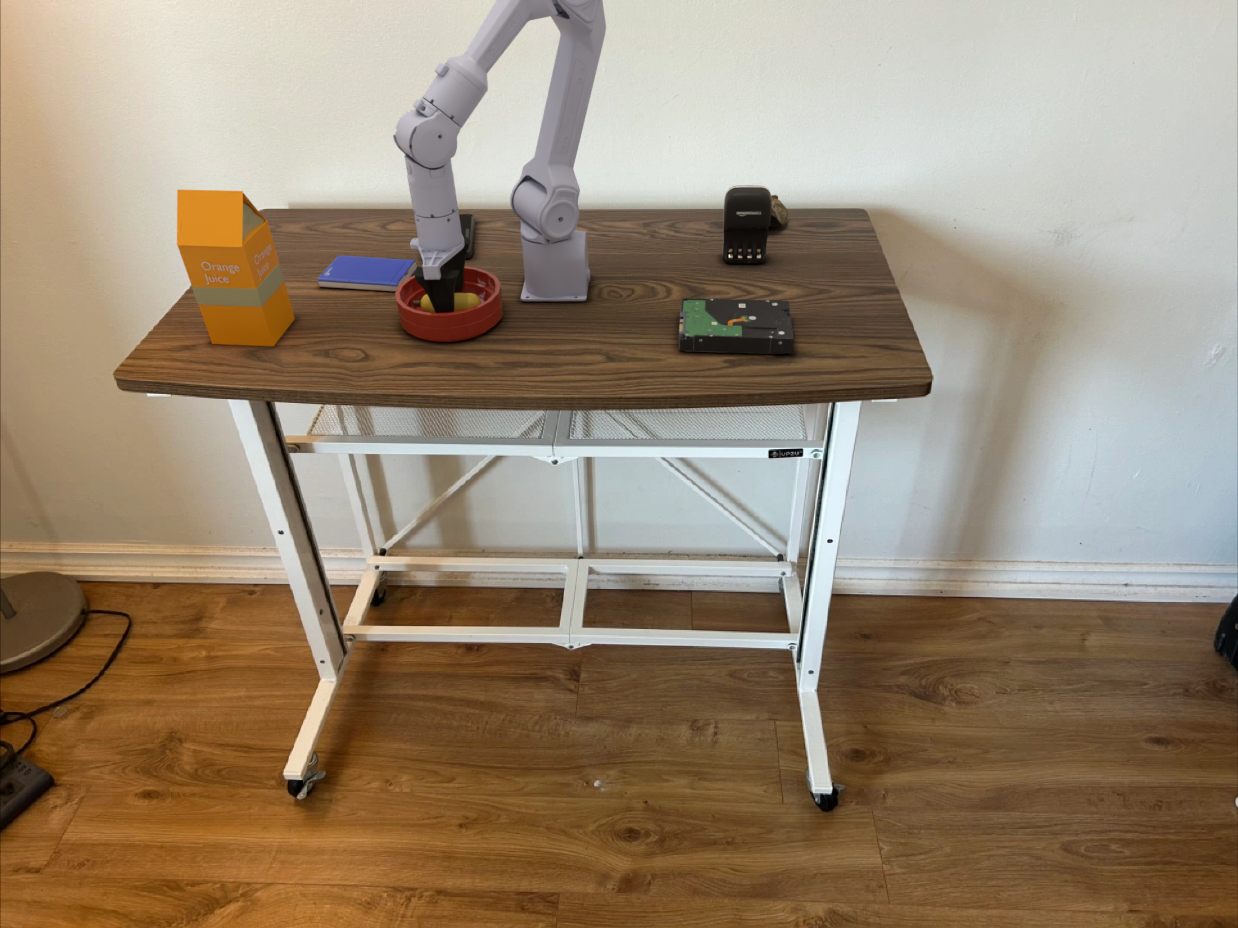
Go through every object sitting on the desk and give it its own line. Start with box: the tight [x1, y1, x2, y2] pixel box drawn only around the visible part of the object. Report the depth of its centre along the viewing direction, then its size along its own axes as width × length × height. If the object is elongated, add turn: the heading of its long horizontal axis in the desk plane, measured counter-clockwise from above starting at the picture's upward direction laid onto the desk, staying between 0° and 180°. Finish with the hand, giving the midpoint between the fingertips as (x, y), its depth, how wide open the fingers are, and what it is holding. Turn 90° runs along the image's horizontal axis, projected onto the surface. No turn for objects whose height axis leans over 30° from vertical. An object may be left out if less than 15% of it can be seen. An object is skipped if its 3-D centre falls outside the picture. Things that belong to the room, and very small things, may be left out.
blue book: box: [317, 255, 418, 292], centre depth 134 cm, size 2×8×12 cm
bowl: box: [394, 265, 504, 343], centre depth 123 cm, size 14×14×4 cm
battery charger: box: [721, 184, 772, 265], centre depth 133 cm, size 7×4×11 cm, turn 87°
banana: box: [413, 293, 481, 313], centre depth 123 cm, size 9×3×3 cm, turn 88°
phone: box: [459, 213, 476, 260], centre depth 144 cm, size 8×1×15 cm
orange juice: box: [176, 189, 296, 347], centre depth 117 cm, size 8×9×20 cm
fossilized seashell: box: [769, 194, 789, 228], centre depth 145 cm, size 8×7×10 cm
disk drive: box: [678, 297, 795, 355], centre depth 119 cm, size 10×3×15 cm
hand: (450, 303), depth 123 cm, fingers open, 7 cm apart
